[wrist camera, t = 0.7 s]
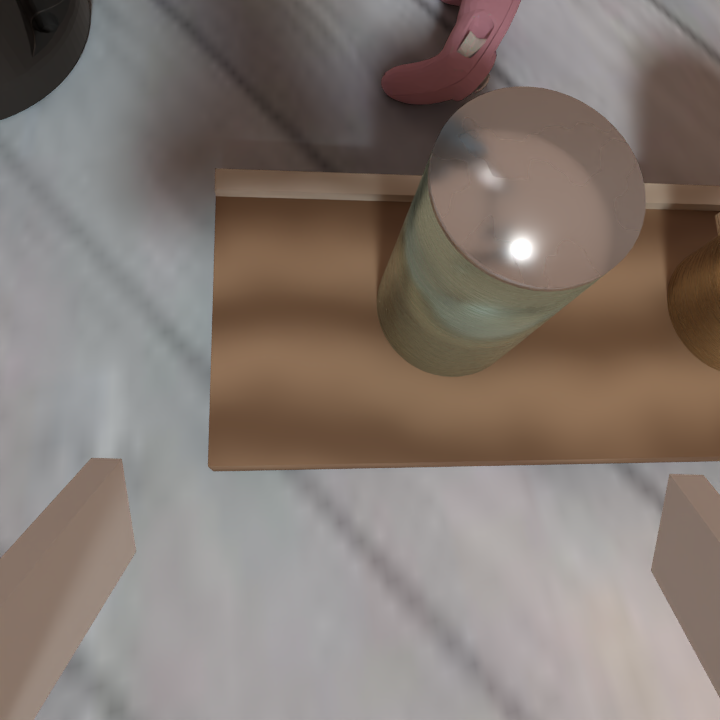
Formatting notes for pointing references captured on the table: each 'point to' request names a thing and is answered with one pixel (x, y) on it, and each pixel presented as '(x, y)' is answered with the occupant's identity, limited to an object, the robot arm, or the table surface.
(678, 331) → the mustard tin
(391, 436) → the wooden tray
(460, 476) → the table surface
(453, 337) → the green tin
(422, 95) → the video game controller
